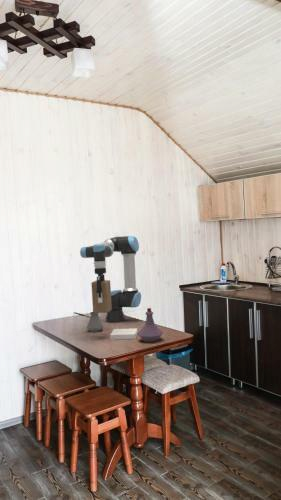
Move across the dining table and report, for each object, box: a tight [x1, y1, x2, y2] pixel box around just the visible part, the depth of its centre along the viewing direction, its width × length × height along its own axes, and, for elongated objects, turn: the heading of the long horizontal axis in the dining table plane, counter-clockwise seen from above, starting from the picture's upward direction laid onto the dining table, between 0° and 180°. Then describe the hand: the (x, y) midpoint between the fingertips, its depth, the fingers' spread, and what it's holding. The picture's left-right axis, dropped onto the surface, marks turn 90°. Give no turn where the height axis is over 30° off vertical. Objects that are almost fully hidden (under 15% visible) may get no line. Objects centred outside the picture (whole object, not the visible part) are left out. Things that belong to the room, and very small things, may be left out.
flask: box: [137, 307, 164, 343], centre depth 272 cm, size 16×16×20 cm
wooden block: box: [90, 279, 112, 314], centre depth 286 cm, size 10×10×20 cm
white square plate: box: [109, 327, 139, 341], centre depth 286 cm, size 16×16×3 cm
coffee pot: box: [73, 311, 104, 333], centre depth 304 cm, size 21×12×15 cm, turn 117°
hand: (102, 301), depth 286 cm, fingers closed on wooden block, 10 cm apart
